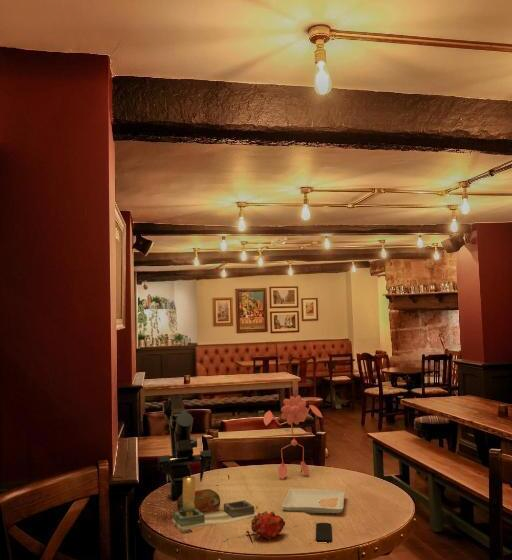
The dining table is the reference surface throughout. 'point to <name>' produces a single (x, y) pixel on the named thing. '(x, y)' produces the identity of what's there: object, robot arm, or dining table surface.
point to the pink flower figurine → (295, 414)
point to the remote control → (323, 532)
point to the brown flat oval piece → (203, 501)
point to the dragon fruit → (267, 525)
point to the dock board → (214, 516)
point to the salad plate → (312, 500)
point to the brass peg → (188, 496)
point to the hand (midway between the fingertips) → (187, 482)
